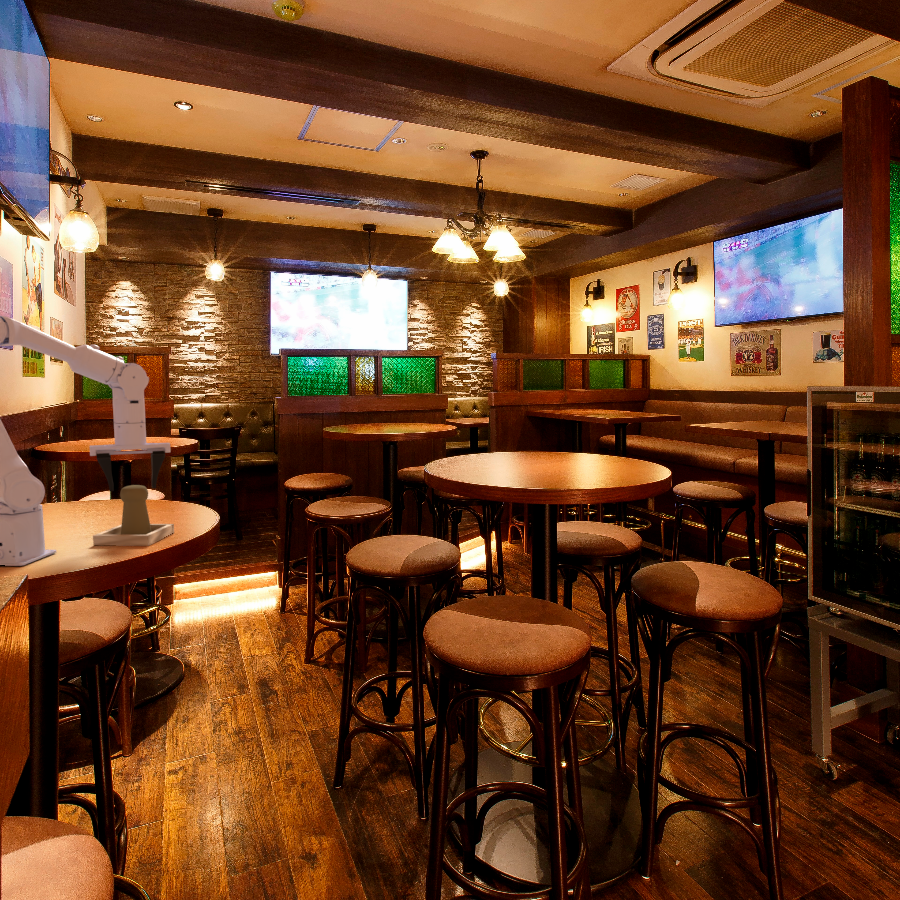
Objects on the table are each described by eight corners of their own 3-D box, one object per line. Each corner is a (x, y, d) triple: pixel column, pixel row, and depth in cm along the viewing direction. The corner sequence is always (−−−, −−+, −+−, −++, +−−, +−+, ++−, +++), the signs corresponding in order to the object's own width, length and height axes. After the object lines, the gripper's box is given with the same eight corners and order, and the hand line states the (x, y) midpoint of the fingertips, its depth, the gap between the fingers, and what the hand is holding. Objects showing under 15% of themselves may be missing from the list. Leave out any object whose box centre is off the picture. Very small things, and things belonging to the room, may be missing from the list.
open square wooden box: (148, 545, 122) (148, 535, 122) (93, 545, 122) (92, 535, 122) (174, 533, 133) (173, 523, 133) (123, 532, 133) (123, 523, 133)
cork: (118, 542, 124) (115, 488, 123) (122, 536, 130) (119, 484, 129) (151, 540, 127) (148, 486, 125) (153, 533, 132) (151, 482, 131)
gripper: (167, 421, 132) (170, 484, 133) (88, 422, 125) (92, 489, 126) (170, 422, 126) (173, 488, 127) (88, 424, 119) (91, 494, 120)
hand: (133, 489), depth 126 cm, fingers open, 7 cm apart
